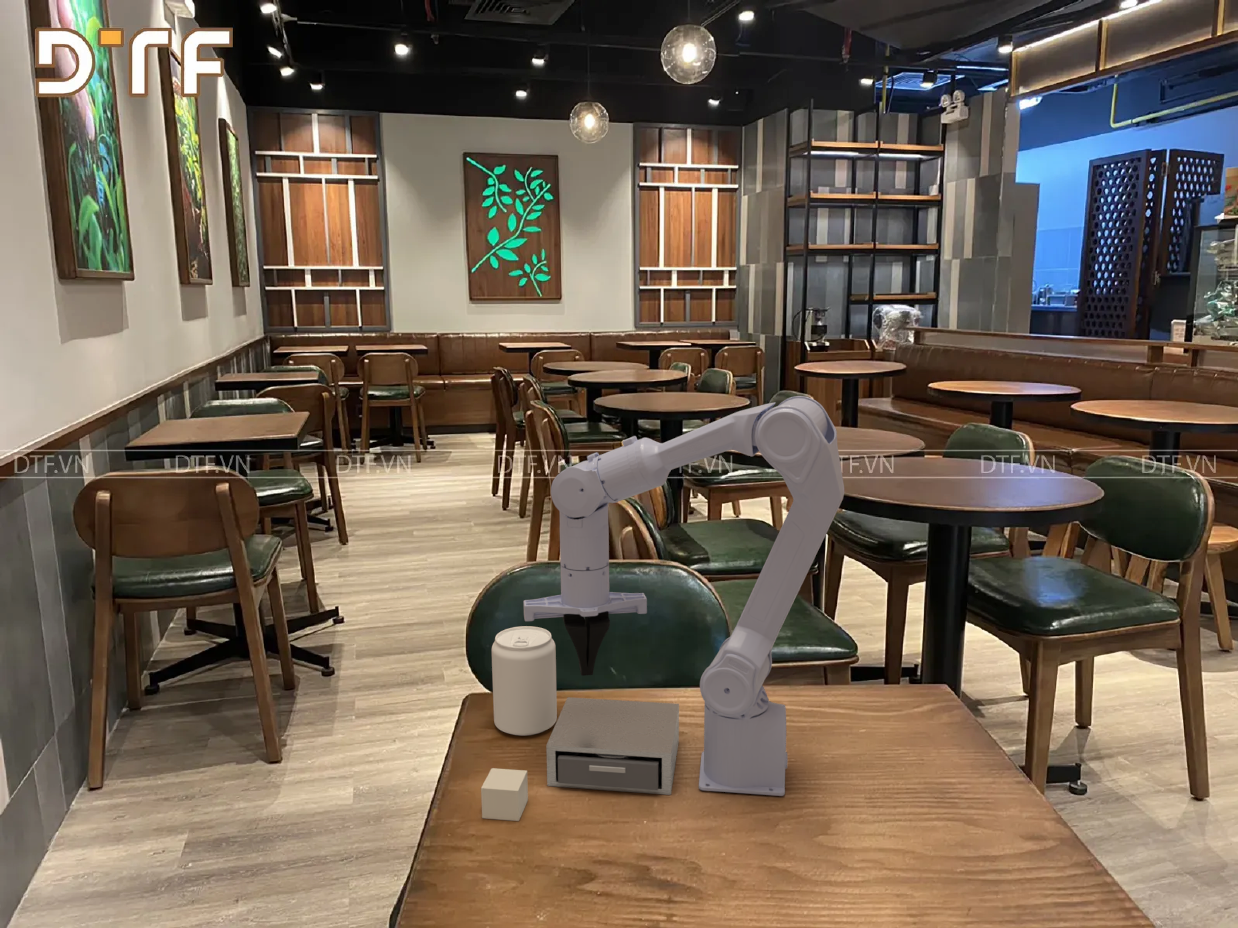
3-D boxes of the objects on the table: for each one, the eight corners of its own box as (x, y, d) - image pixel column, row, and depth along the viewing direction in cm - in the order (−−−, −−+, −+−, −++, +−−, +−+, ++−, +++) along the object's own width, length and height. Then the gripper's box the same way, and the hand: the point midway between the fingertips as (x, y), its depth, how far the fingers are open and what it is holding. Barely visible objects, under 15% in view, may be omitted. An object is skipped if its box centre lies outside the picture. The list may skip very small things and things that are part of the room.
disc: (640, 745, 105) (640, 733, 104) (634, 769, 99) (634, 756, 99) (595, 742, 105) (595, 730, 105) (588, 766, 100) (587, 753, 100)
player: (678, 741, 108) (679, 703, 108) (670, 794, 97) (671, 753, 96) (568, 734, 110) (567, 697, 109) (547, 785, 99) (546, 745, 98)
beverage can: (561, 710, 117) (560, 625, 114) (551, 740, 109) (549, 650, 107) (502, 708, 118) (499, 623, 115) (487, 738, 110) (484, 648, 107)
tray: (666, 740, 107) (666, 717, 107) (657, 791, 96) (657, 766, 95) (576, 734, 109) (576, 712, 108) (557, 784, 98) (557, 759, 97)
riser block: (528, 799, 96) (527, 770, 95) (518, 821, 92) (518, 790, 91) (492, 797, 97) (491, 768, 96) (482, 818, 93) (481, 788, 92)
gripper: (524, 577, 98) (528, 691, 100) (652, 570, 100) (651, 681, 102) (521, 559, 104) (524, 666, 107) (640, 553, 107) (640, 657, 109)
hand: (586, 672), depth 105 cm, fingers closed
